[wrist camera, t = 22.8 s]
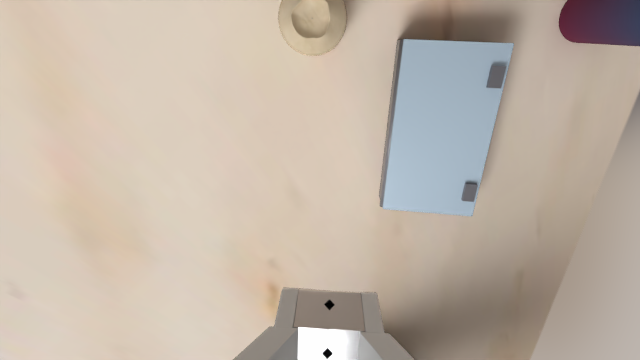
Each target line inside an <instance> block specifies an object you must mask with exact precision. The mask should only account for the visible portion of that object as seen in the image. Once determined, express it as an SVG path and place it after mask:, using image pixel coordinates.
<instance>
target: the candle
mask: <svg viewBox="0 0 640 360" xmlns="http://www.w3.org/2000/svg"><path fill="white" fill-rule="evenodd" d="M278 20H279V27H280V31H281V33H282V36H283V38H284V39H285V41H286V42H287V43H288V45H289V46H290V47H291V48H293V49H294V50H295V51H297V52H299V53H301V54H304V55H308V56H317V55H322V54H325V53H327V52H329V51H331V50H332V49H334V48H335V47H336V45H337V44H338V43H339V41H340V40H341V38H342V36H343V34H344V31H345V28H346V22H347V14H346V8H345V4H344V2H343V0H282V2H281V4H280V8H279V15H278Z"/></svg>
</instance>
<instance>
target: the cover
mask: <svg viewBox="0 0 640 360" xmlns="http://www.w3.org/2000/svg"><path fill="white" fill-rule="evenodd" d="M513 46H514V43H492V42H465V41H439V40H413V39H400V41H399V49H398V58H397V66H396V74H395V83H394V91H393V99H392V108H391V116H390V124H389V133H388V141H387V149H386V157H385V166H384V174H383V182H382V191H381V199H380V207H383V209H389V210H401V211H414V212H426V213H438V214H450V215H462V216H472V215H473V211H474V207H475V203H476V199H477V194H478V190H479V186H480V182H481V178H482V174H483V170H484V166H485V161H486V157H487V153H488V149H489V145H490V141H491V137H492V133H493V128H494V124H495V120H496V116H497V112H498V108H499V104H500V100H501V95H502V91H503V87H504V83H505V79H506V75H507V71H508V67H509V62H510V58H511V54H512V50H513Z"/></svg>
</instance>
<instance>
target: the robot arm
mask: <svg viewBox="0 0 640 360" xmlns="http://www.w3.org/2000/svg"><path fill="white" fill-rule="evenodd" d="M233 360H414V358H413V357H412V356H411V355H410V354H409V353H408V352H407V351H406V350H405V349H404V348H403V347H402V346H401V345H400V344H399V343H398V342H397V341H396V340H395V339H394V338H393V337H392V336H391V335H390V334H389V333H385V332H384V327H383V322H382V317H381V311H380V306H379V301H378V295H377V293H376V292H347V291H328V290H315V289H302V288H299V289H298V288H286V287H283V289H282V292H281V297H280V301H279V306H278V311H277V316H276V320H275V325H274V327H268V328H267V329H266V330H265V331H264V332H263V333H262V334H261V335H260V336H258V337H257V338H256V339H255V340H254V341H253V342H252V343H251V344H250V345H249V346H247V347H246V348H245V349H244V350H243V351H242V352H241V353H240V354H239V355H238V356H237V357H235V358H234V359H233Z"/></svg>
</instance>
